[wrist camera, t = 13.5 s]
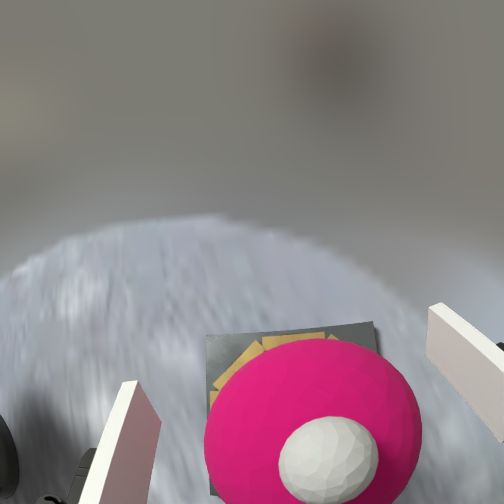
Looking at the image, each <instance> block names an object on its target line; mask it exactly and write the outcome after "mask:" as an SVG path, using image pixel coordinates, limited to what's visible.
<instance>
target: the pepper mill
mask: <svg viewBox="0 0 504 504" xmlns="http://www.w3.org/2000/svg"><path fill="white" fill-rule="evenodd" d="M421 444H422V423H421V417H420V411H419V407H418V404H417V401H416V398H415V396H414V393H413V391H412V389H411V388H410V386H409V384H408V383H407V381H406V380H405V378H404V377H403V375H402V374H401V373H400V372H399V371H398V370H397V369H396V368H395V367H394V366H393V365H392V364H391V363H390V362H388V361H387V360H386V359H384V358H383V357H381V356H380V355H378V354H377V353H375V352H374V351H372V350H370V349H368V348H365V347H363V346H360V345H358V344H355V343H351V342H346V341H341V340H336V339H323V338H314V339H305V340H297V341H294V342H289V343H285V344H281V345H279V346H277V347H274V348H272V349H269V350H267V351H265V352H263V353H261V354H260V355H258V356H256V357H255V358H253V359H251V360H250V361H248V362H247V363H246V364H245V365H244V366H242V367H241V368H240V369H239V370H238V371H236V372H235V373H234V374H233V375H232V377H231V378H230V379H229V380H228V381H227V383H226V384H225V385H224V386H223V387H222V389H221V390H220V392H219V394H218V396H217V397H216V399H215V401H214V403H213V404H212V407H211V410H210V414H209V417H208V420H207V423H206V429H205V435H204V455H205V461H206V465H207V469H208V473H209V477H210V479H211V482H212V484H213V486H214V487H215V489H216V490H217V492H218V494H219V495H220V497H221V498H222V500H223V501H224V502H225V503H226V504H392V503H393V501H394V500H395V499H396V498H397V497H398V496H399V495H400V493H401V492H402V491H403V490H404V488H405V487H406V485H407V483H408V481H409V479H410V477H411V475H412V473H413V471H414V469H415V467H416V464H417V462H418V458H419V453H420V449H421Z"/></svg>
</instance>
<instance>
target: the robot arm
mask: <svg viewBox="0 0 504 504" xmlns="http://www.w3.org/2000/svg"><path fill="white" fill-rule="evenodd" d="M428 310H429V311H428V329H427V343H426V354H425V355H426V356H427V357H428V359H429V360H430V361H431V362H432V363H433V364H434V365H435V366H436V367H437V368H438V370H439V371H440V372H441V373H442V374H443V375H444V376H445V377H446V379H447V380H448V381H449V382H450V383H451V384H452V385H453V387H454V388H455V389H456V390H457V391H458V392H459V393H460V395H461V396H462V397H463V398H464V399H465V400H466V401H467V403H468V404H469V405H470V406H471V407H472V409H473V410H474V411H475V412H476V413H477V414H478V416H479V417H480V418H481V419H482V420H483V422H484V423H485V424H486V425H487V426H488V428H489V429H490V430H491V431H492V433H493V434H494V435H495V436H496V438H497V439H498V440H499V441H500V443H501V444H502V443H503V442H504V343H501V342H500V343H498V344H496V345H495V344H494V343H493V342H491V341H490V340H489V339H488V338H487V337H485V336H484V335H483V334H481V333H480V332H479V331H478V330H476V329H475V328H474V327H473V326H472V325H470V324H469V323H468V322H466V321H465V320H464V319H463V318H461V317H460V316H459V315H457V314H456V313H455V312H454V311H452V310H451V309H450V308H448V307H447V306H446V305H444V304H443V303H438V304H436V305H433V306H431V307H429V308H428ZM160 427H161V420H160V419H159V417H158V415H157V414H156V412H155V410H154V409H153V407H152V405H151V403H150V402H149V400H148V398H147V396H146V394H145V393H144V391H143V389H142V387H141V385H140V383H139V381H138V380H136V381H128V382H123V383H122V386H121V388H120V391H119V393H118V396H117V398H116V401H115V403H114V406H113V408H112V411H111V413H110V416H109V418H108V421H107V424H106V426H105V429H104V432H103V434H102V437H101V440H100V442H99V445H98V448H90V449H89V450H88V451H87V452H86V454H85V455H84V456H83V457H82V460H81V463H80V465H79V469H78V471H77V473H76V477H75V479H74V482H73V484H72V487H71V490H70V493H69V496H68V499H67V501H66V502H64V501H63V500H62V499H61V498H60V497H59V496H57V495H55V494H45V495H42V496H41V497H40V498H38V500H37V501H36V502H35V504H146V503H147V497H148V491H149V485H150V480H151V474H152V468H153V463H154V458H155V453H156V447H157V442H158V437H159V432H160ZM17 483H18V462H17V456H16V451H15V447H14V444H13V441H12V438H11V435H10V433H9V430H8V428H7V426H6V424H5V422H4V420H3V419H2V417H1V416H0V499H4V498H8V497H10V496H12V495H13V493H14V492H15V490H16V487H17Z"/></svg>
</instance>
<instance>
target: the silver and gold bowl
mask: <svg viewBox="0 0 504 504" xmlns="http://www.w3.org/2000/svg"><path fill="white" fill-rule="evenodd" d="M314 338H323V339H336V340H341V341H346V342H351V343H355V344H358V345H360V346H363V347H365V348H368V349H370V350H372V351H374V352H375V353H377V347H376V339H375V332H374V325H373V321H371V322H363V323H355V324H347V325H338V326H329V327H320V328H310V329H299V330H287V331H274V332H259V333H243V334H222V335H206V389H207V420H208V417H209V414H210V410H211V407H212V404H213V403H214V401H215V399H216V397H217V396H218V394H219V392H220V390H221V389H222V387H223V386H224V385H225V384H226V383H227V381H228V380H229V379H230V378H231V377H232V375H233V374H234V373H235V372H236V371H238V370H239V369H240V368H241V367H242V366H244V365H245V364H246V363H247V362H248V361H250V360H251V359H253V358H255V357H256V356H258V355H260V354H261V353H263V352H265V351H267V350H269V349H272V348H274V347H277V346H279V345H281V344H285V343H289V342H294V341H297V340H305V339H314ZM209 481H210V495H214V496H220V495H219V494H218V492H217V490H216V489H215V487H214V486H213V484H212V482H211V479H210V477H209Z"/></svg>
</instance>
